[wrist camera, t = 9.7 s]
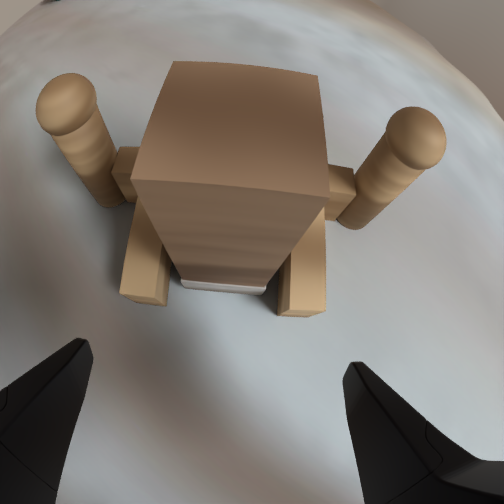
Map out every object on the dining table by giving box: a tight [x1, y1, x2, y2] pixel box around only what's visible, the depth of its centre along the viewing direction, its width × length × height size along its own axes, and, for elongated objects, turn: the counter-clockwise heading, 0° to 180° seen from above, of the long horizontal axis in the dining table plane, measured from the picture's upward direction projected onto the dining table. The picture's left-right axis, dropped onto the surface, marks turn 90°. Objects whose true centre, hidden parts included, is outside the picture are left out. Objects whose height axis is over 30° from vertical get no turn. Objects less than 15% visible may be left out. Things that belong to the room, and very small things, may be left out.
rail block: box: [130, 61, 330, 295], centre depth 13 cm, size 5×5×13 cm
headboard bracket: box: [36, 73, 446, 317], centre depth 14 cm, size 10×21×11 cm, turn 87°
